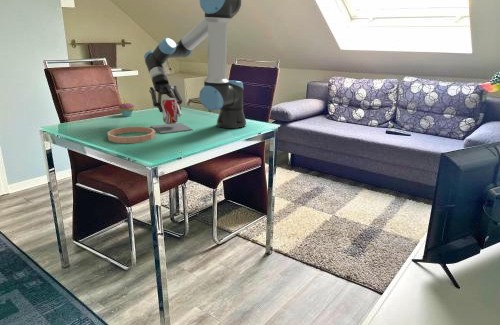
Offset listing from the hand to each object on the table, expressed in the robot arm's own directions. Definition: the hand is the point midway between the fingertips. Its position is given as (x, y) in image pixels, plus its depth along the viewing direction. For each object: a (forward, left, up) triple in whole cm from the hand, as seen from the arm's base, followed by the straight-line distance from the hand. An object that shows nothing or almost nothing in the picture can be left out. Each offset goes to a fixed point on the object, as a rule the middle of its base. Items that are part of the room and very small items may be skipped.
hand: (172, 116), depth 183 cm
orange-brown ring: (+14, +16, -7) cm, 23 cm away
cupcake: (+36, -28, -7) cm, 46 cm away
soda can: (+2, -3, -4) cm, 6 cm away
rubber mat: (+2, -3, -7) cm, 8 cm away
